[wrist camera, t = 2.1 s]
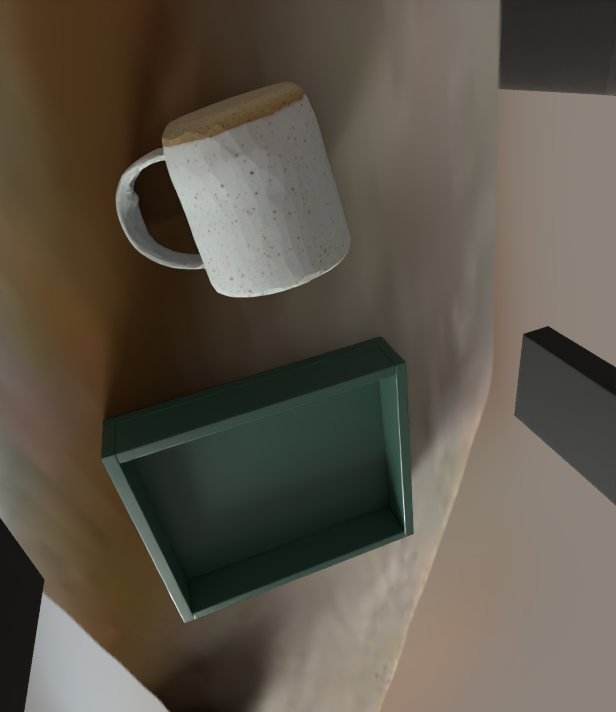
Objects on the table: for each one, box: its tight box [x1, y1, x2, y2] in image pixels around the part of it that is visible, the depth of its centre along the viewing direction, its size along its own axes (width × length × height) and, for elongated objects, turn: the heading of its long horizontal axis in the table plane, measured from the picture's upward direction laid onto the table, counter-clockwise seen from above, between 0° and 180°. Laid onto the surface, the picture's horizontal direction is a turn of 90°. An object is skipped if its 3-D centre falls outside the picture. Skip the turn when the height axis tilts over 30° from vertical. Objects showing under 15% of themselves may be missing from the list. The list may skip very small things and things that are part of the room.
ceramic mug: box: [116, 82, 351, 297], centre depth 24 cm, size 11×8×8 cm
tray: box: [101, 337, 414, 623], centre depth 37 cm, size 20×18×4 cm
